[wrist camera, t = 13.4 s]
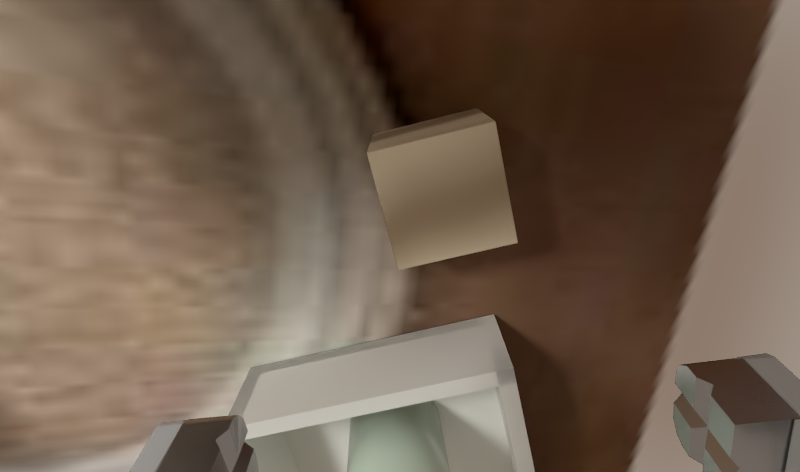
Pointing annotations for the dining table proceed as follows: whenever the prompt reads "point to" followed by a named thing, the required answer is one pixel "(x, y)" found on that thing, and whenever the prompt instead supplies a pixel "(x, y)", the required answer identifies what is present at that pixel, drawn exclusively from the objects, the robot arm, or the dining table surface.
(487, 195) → the beech cube
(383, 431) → the sage cylinder
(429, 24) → the dining table surface
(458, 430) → the tote
